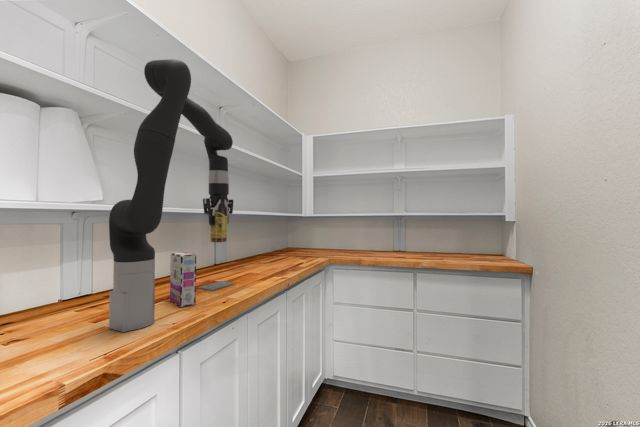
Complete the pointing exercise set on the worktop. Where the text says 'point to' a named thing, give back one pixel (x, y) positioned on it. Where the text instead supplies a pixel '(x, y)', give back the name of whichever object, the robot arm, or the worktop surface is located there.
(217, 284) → the rubber mat
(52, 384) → the worktop surface
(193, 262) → the candy bar box
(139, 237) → the robot arm
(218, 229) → the sauce bottle
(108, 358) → the worktop surface
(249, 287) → the worktop surface
